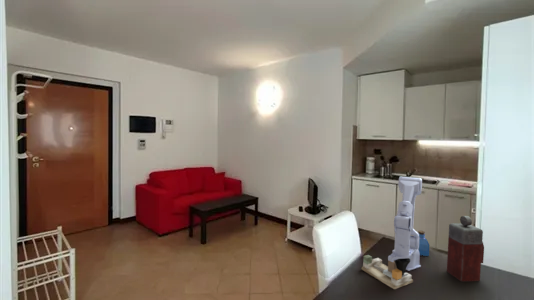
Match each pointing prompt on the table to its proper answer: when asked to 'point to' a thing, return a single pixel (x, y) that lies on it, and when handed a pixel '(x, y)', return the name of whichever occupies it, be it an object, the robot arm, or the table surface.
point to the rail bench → (376, 270)
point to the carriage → (390, 268)
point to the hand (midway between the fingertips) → (400, 274)
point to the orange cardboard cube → (396, 274)
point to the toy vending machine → (465, 250)
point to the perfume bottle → (423, 244)
